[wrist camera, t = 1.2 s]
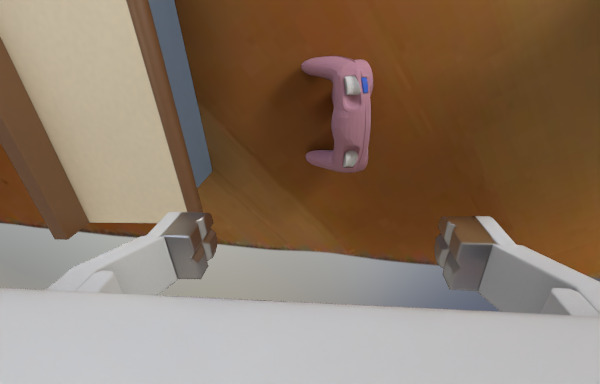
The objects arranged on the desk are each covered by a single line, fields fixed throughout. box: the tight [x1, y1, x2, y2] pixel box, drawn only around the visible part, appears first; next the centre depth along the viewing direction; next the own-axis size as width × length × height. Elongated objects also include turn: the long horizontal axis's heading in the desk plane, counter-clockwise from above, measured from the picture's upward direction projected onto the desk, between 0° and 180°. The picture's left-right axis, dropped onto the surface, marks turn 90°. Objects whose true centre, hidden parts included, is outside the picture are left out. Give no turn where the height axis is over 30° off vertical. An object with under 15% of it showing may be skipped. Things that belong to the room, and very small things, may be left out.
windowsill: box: [0, 0, 212, 239], centre depth 24 cm, size 11×18×12 cm, turn 3°
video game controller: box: [301, 56, 373, 173], centre depth 26 cm, size 10×5×7 cm, turn 3°
